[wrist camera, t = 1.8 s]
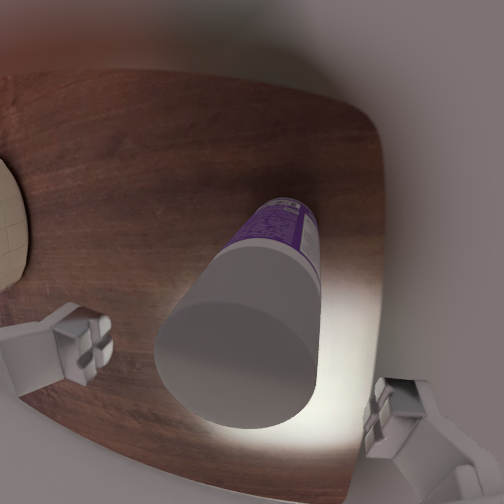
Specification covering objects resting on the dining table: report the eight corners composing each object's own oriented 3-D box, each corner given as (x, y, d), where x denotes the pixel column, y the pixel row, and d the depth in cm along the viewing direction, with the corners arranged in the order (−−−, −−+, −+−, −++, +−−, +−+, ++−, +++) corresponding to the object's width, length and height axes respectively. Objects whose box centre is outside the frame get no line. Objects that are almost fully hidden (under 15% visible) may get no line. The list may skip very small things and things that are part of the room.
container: (238, 241, 23) (131, 378, 9) (272, 184, 21) (188, 257, 7) (295, 275, 23) (261, 450, 9) (331, 221, 21) (360, 359, 7)
